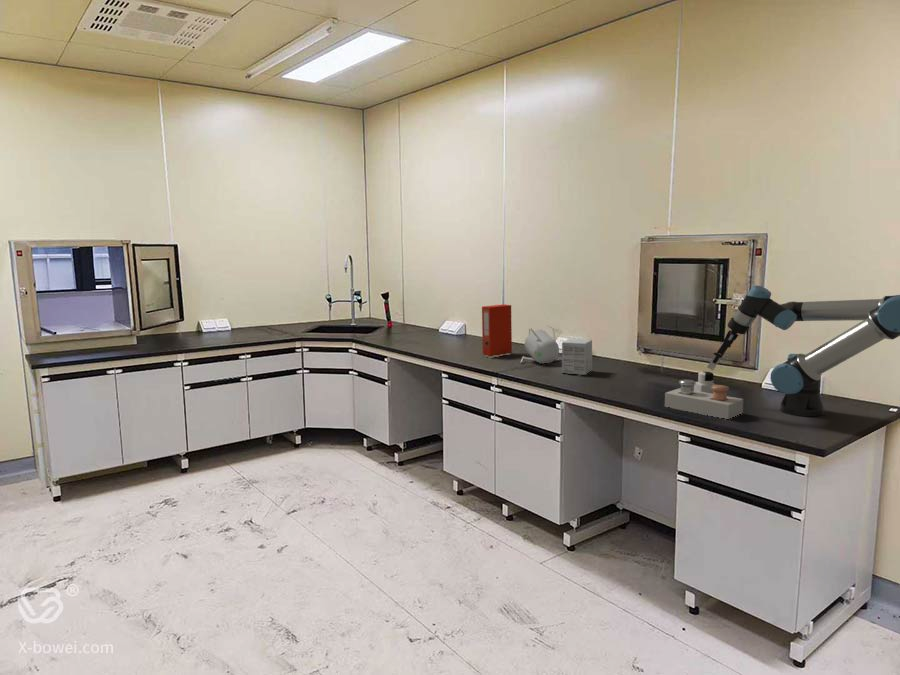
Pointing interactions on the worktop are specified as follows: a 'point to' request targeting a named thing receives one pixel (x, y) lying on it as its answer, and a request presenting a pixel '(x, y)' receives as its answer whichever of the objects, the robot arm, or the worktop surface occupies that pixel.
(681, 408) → the block
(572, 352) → the supplement box
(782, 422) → the worktop surface
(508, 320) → the file binder
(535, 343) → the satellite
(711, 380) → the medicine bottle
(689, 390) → the metal plug
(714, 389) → the terracotta plug
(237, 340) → the worktop surface
